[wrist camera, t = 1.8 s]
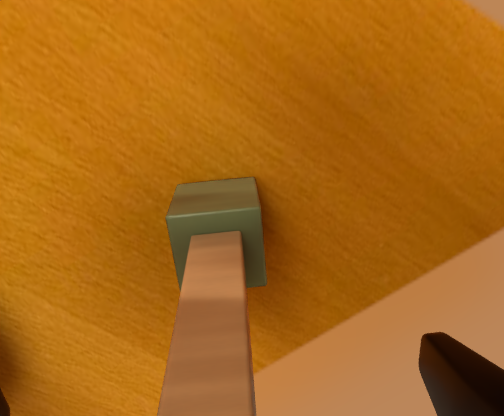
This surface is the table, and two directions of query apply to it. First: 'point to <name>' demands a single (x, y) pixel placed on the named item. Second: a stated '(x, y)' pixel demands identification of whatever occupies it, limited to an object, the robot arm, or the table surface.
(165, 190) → the table surface
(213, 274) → the scrub brush
